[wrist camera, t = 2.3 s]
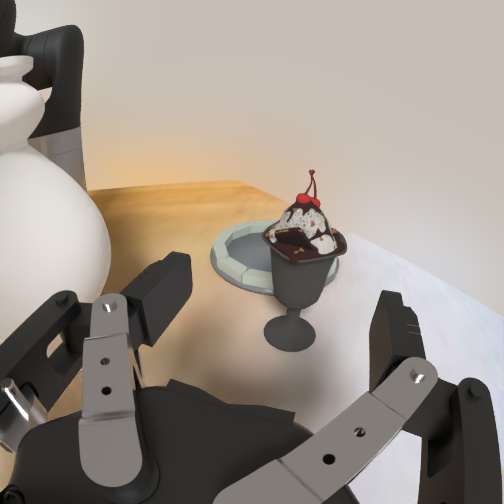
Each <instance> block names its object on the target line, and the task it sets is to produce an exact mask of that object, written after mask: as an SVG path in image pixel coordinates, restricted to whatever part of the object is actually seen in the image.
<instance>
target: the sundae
mask: <svg viewBox="0 0 504 504" xmlns="http://www.w3.org/2000/svg"><path fill="white" fill-rule="evenodd" d="M309 173H310V175H311V183H310V186H309V188H308V189H307V191H306V192H305V193H304V194H298V195H297V197H296V202H295V203H294V204H293V205H291V206H289V207H288V208H287V209H286V210H285V211H284V213H283V215H282V216H281V219H280V220H279V221H278V222H276V223H274V224H272V225H270V226H269V227H268V228H266V229H265V230H264V232H263V233H262V234H261V236H262V239H263V240H264V241H265V242H266V244H267V245H268V246H269V247H270V253H271V265H272V282H273V289H274V294H275V296H276V298H277V299H278V300H279V301H280V302H281V303H282V304H283V305H284V306H286V307H287V314H286V315H284V316H279V317H276V318H273V319H271V320H270V321H269V322H268V323H267V324H266V325H265V328H264V336H265V338H266V340H267V341H268V342H269V343H270V344H271V345H272V346H274V347H276V348H277V349H280V350H283V351H289V352H295V351H301V350H304V349H306V348H308V347H309V346H311V345H312V344H313V342H314V340H315V337H316V335H315V331H314V328H313V327H312V326H311V325H310V324H309V322H307V321H306V320H304V319H302V318H300V317H299V315H300V310H301V309H304V308H307V307H309V306H311V305H313V304H314V303H316V302H317V301H318V299H319V297H320V295H321V293H322V290H323V288H324V285H325V282H326V279H327V276H328V274H329V271H330V268H331V266H332V264H333V262H334V260H335V258H336V257H337V256H340V255H343V254H345V253H346V251H347V243H346V240H345V238H344V237H343V235H342V234H341V233H340V232H338V231H337V230H336V229H333V228H331V226H330V224H329V222H328V220H327V218H326V217H325V216H324V214H323V212H322V211H321V210H320V208H319V207H320V201H319V200H318V199H316V183H315V180H314V178H313V174H314V173H315V171H314V170H310V171H309ZM312 181H314V198H313V197H310V196H309V195H307V193H308V191H309V189H310V187H311V185H312Z"/></svg>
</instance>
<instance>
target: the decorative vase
mask: <svg viewBox="0 0 504 504" xmlns="http://www.w3.org/2000/svg"><path fill="white" fill-rule="evenodd" d="M32 68H33V57H31V56H9V57H2V58H0V345H1V344H2V343H3V342H4V341H5V340H6V339H7V338H8V337H9V336H10V335H11V334H12V333H13V332H14V331H15V330H16V329H17V328H18V327H19V326H20V325H21V324H22V323H23V322H24V321H25V320H26V319H27V318H28V317H29V316H30V315H31V314H32V313H33V312H34V311H36V310H37V309H38V308H39V307H40V306H41V305H42V304H43V303H44V302H45V301H46V300H47V299H49V298H50V297H51V296H52V295H53V294H55V293H57V292H59V291H63V290H71V291H74V292H75V293H76V294H77V297H78V300H79V302H83V303H93V302H94V301H95V300H96V299H97V298H98V297H100V294H101V292H102V290H103V288H104V285H105V283H106V280H107V277H108V273H109V269H110V263H111V244H110V238H109V234H108V230H107V227H106V224H105V221H104V219H103V217H102V214H101V213H100V211H99V209H98V207H97V206H96V204H95V203H94V202H93V200H92V199H91V198H90V197H89V195H88V194H87V193H86V192H85V191H84V190H83V189H82V187H81V186H80V185H79V184H78V183H77V182H76V181H75V180H74V179H73V178H72V177H70V176H69V175H68V174H67V173H66V172H65V171H64V170H62V169H61V168H60V167H59V166H57V165H56V164H55V163H53V162H52V161H51V160H49V159H48V158H47V157H45V156H44V155H42V154H41V153H40V152H38V151H37V150H36V149H34V148H33V147H31V146H30V145H29V144H28V141H27V138H28V137H29V136H30V135H31V134H32V132H33V131H34V130H35V128H36V127H37V125H38V124H39V122H40V120H41V119H42V117H43V114H44V111H45V103H44V99H43V97H42V96H41V94H40V93H39V92H38V91H37V90H36V89H35V88H33V87H32V86H30V85H28V84H27V83H25V82H23V81H22V76H23V75H25V74H26V73H28V72H29V71H30V70H32ZM61 343H62V339H61V337H60V335H59V334H58V336H57V337H56V338H55V339H54V340H53V341H52V342H51V343H50V344H49V346H48V348H47V356H48V358H49V356H50V355H51V354H52V353H53V352H54V351H55V350H56V348H57V347H58V346H59V345H60V344H61ZM80 371H82V368H81V369H80ZM80 371H79V372H80ZM79 372H78V373H79ZM78 373H77V374H78Z"/></svg>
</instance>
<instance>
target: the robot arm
mask: <svg viewBox="0 0 504 504" xmlns="http://www.w3.org/2000/svg"><path fill="white" fill-rule="evenodd" d="M15 22H16V4H15V1H14V0H0V58H2V57H9V56H31V57H33V68H32V70H30V71H29V72H28V73H26V74H25V75H23V76H22V81H23V82H25V83H27V84H28V85H30V86H32V87H33V88H35V89H36V90H37V91H38V90H42V89H46V88H50V87H52V92H51V95H50V98H49V99H48V100H47V101H46V103H45V111H44V114H43V117H42V119H41V120H40V122H39V124H38V125H37V127H36V128H35V130H34V131H33V132H32V134H31V135H30V136H29V137H28V138H27V141H28V144H29V145H30V146H31V147H33V148H34V149H36V150H37V151H38V152H40V153H41V154H42V155H44V156H45V157H47V158H48V159H49V160H51V161H52V162H53V163H55V164H56V165H57V166H59V167H60V168H61V169H62V170H64V171H65V172H66V173H67V174H68V175H69V176H70V177H72V178H73V179H74V180H75V181H76V182H77V183H78V184H79V185H80V186H81V187H82V189H83V190H84V191H85V192H86V193H87V188H86V181H85V172H84V163H83V152H82V140H81V126H80V111H81V82H82V69H83V58H84V40H83V35H82V32H81V30H80V29H79V28H78V27H77V26H75V25H66V26H62V27H58V28H55V29H51V30H47V31H44V32H40V33H37V34H34V35H29V36H23V35H20V34H17V33H15V32H14V29H15ZM192 286H193V284H192V270H191V258H190V255H189V254H184V253H179V252H174V251H172V252H171V253H169V254H168V255H167V256H166V257H165V258H164V259H163V260H159V261H157V262H155V263H153V264H151V265H149V266H148V267H147V268H146V269H145V270H144V271H143V273H142V272H141V273H140V274H139V275H138V276H137V278H135V279H134V280H133V281H132V282H131V283H130V284H129V285H128V286H126V287H125V288H124V289H123V290H122V291H121V292H120V293H119V294H118V293H109V294H105V295H102V296H100V297H98V298H97V299H96V300H95V301H94V302H93V303H83V302H79V300H78V297H77V294H76V293H75V292H74V291H71V290H63V291H59V292H57V293H55V294H53V295H52V296H51V297H50V298H49V299H47V300H46V301H45V302H44V303H43V304H42V305H41V306H40V307H39V308H38V309H37V310H36V311H34V312H33V313H32V314H31V315H30V316H29V317H28V318H27V319H26V320H25V321H24V322H23V323H22V324H21V325H20V326H19V327H18V328H17V329H16V330H15V331H14V332H13V333H12V334H11V335H10V336H9V337H8V338H7V339H6V340H5V341H4V342H3V343H2V344H1V345H0V446H2V447H3V448H4V449H5V450H6V451H8V452H11V453H15V454H16V459H15V465H14V469H13V473H12V476H11V479H10V481H9V483H8V485H7V487H6V488H5V489H4V490H3V491H2V492H0V504H360V503H359V502H358V500H357V498H356V497H355V495H354V494H353V492H352V491H351V489H350V487H349V486H348V485H349V484H350V483H351V482H352V481H353V480H354V479H355V478H356V477H357V476H359V475H360V474H361V473H362V472H363V471H364V470H365V469H366V468H367V467H368V466H369V465H370V464H371V463H372V462H373V461H374V459H375V458H376V457H377V456H378V455H379V454H380V453H381V452H382V451H383V450H384V449H385V448H386V447H387V446H388V445H389V444H390V443H391V441H392V440H393V439H394V438H395V437H396V436H397V435H398V434H399V432H400V431H401V430H404V431H406V432H409V433H411V434H414V435H417V436H420V437H422V449H421V470H420V484H419V494H418V504H502V476H501V462H500V452H499V443H498V435H497V429H496V422H495V416H494V411H493V405H492V400H491V396H490V392H489V390H488V388H487V386H486V385H485V384H484V383H483V382H482V381H480V380H478V379H476V378H465V379H463V380H462V381H461V382H460V383H459V385H458V386H457V385H455V384H452V383H449V382H447V381H444V380H442V379H440V378H438V373H437V370H436V368H435V367H434V366H433V365H432V364H431V363H430V362H429V361H427V360H426V356H425V351H424V346H423V341H422V336H421V335H420V333H421V332H420V327H419V323H418V318H417V315H416V314H415V313H414V311H413V310H412V309H411V307H406V306H403V301H402V296H401V293H398V292H392V291H386V290H382V292H381V294H380V297H379V301H378V304H377V307H376V310H375V313H374V316H373V318H372V322H371V326H370V332H369V350H370V378H369V391H367V392H366V393H364V394H363V395H362V396H361V397H360V398H359V399H357V400H356V401H355V402H354V403H353V404H352V405H351V406H349V407H348V408H347V409H346V410H345V411H343V412H342V413H341V414H340V415H339V416H337V417H336V418H335V419H334V420H333V421H331V422H330V423H329V424H328V425H326V426H325V427H324V428H322V429H321V430H320V431H319V432H317V433H316V434H315V435H314V434H313V433H312V432H311V431H309V430H308V429H307V428H305V427H303V426H302V425H300V424H298V423H296V422H293V420H294V416H295V412H290V411H285V410H280V409H276V408H271V407H267V406H260V405H235V404H227V403H225V402H223V401H221V400H219V399H217V398H215V397H214V396H212V395H210V394H208V393H207V392H205V391H203V390H201V389H200V388H197V387H194V386H191V385H188V384H185V383H182V382H179V381H176V380H173V379H170V381H169V383H168V384H167V386H166V387H164V386H153V387H145V383H144V377H143V370H142V364H141V357H140V351H139V347H140V345H141V344H145V345H148V346H150V347H153V345H154V344H155V343H156V341H157V340H158V339H159V337H160V336H161V335H162V333H163V332H164V331H165V329H166V328H167V327H168V325H169V324H170V323H171V321H172V320H173V319H174V318H175V316H176V315H177V314H178V312H179V311H180V310H181V308H182V307H183V306H184V304H185V303H186V302H187V301H188V299H189V298H190V296H191V293H192ZM58 334H59V335H60V337H61V339H62V343H61V344H60V345H59V346H58V347H57V348H56V350H55V351H54V352H53V353H52V354H51V355H50V356H49V358H48V356H47V348H48V346H49V344H50V343H51V342H52V341H53V340H54V339H55V338H56V337H57V336H58ZM81 368H82V410H81V411H78V412H76V413H73V414H70V415H67V416H64V417H61V418H58V419H55V420H52V421H49V422H46V421H47V413H48V412H49V411H50V409H51V408H52V407H53V405H54V404H55V402H56V401H57V400H58V398H59V397H60V396H61V394H62V393H63V392H64V390H65V389H66V388H67V386H68V385H69V384H70V382H71V381H72V380H73V378H74V377H75V376H76V375H77V373H78V372H79V371H80V369H81Z"/></svg>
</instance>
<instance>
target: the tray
mask: <svg viewBox="0 0 504 504" xmlns="http://www.w3.org/2000/svg"><path fill="white" fill-rule="evenodd" d="M276 222H278V221H274V222H273V221H272V220H270V221H251V222H247V223H246V222H244V223H241V224H238V225H235V226H232V227H229V228H226V229H225V230H223V231H222V232H221V233H220V234H219V236H218V237H217V238H216V239H215V240H214V241H213V247H212V249H211V253H210V259H211V264H212V266H213V268H214V270H215V271H216V272H217V273H218V274H219V275H220V276H221V277H222V278H223V279H224V280H226V281H227V282H229V283H231V284H233V285H235V286H237V287H239V288H242V289H244V290H247V291H251V292H255V293H259V294H265V295H274V296H275V294H274V289H273V282H272V265H271V253H270V247H269V246H268V245H267V244H266V242H265V241H264V240H263V239H262V236H261V234H262V233H263V232H264V230H265V229H266V228H268V227H269V226H270V225H272V224H274V223H276ZM338 268H339V260H338V257H336V258H335V260H334V262H333V264H332V266H331V268H330V271H329V274H328V276H327V279H326V282H325V285H324V287H325V286H326V285H328V284H329V283H330V282H331V281H333V279H334V278H335V277H336V275H337V272H338Z"/></svg>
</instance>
